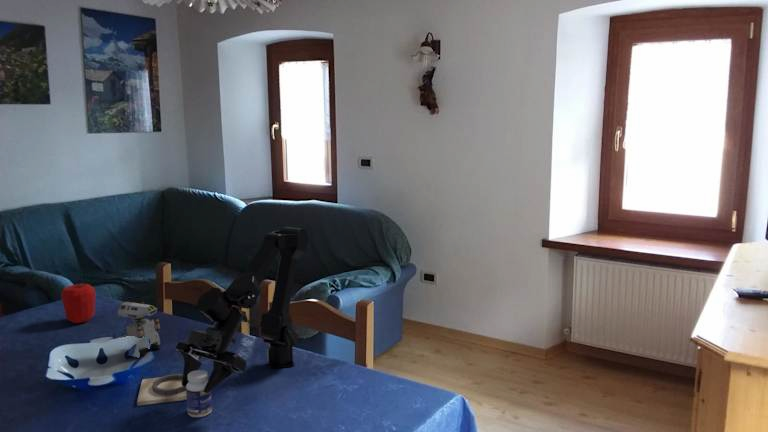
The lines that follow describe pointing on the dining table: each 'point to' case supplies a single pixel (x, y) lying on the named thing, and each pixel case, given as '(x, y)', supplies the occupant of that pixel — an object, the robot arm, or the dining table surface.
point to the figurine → (141, 322)
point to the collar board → (162, 390)
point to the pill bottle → (198, 394)
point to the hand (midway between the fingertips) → (194, 389)
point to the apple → (78, 302)
